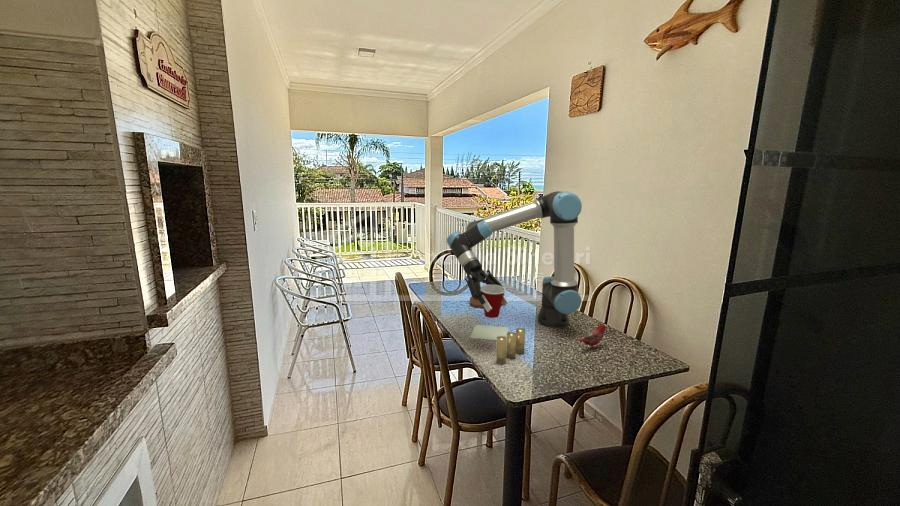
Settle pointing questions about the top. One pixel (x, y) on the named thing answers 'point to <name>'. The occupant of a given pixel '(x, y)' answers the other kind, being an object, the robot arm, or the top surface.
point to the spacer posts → (510, 345)
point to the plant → (476, 303)
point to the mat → (488, 332)
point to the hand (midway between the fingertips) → (498, 307)
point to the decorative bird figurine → (594, 336)
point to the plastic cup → (493, 299)
